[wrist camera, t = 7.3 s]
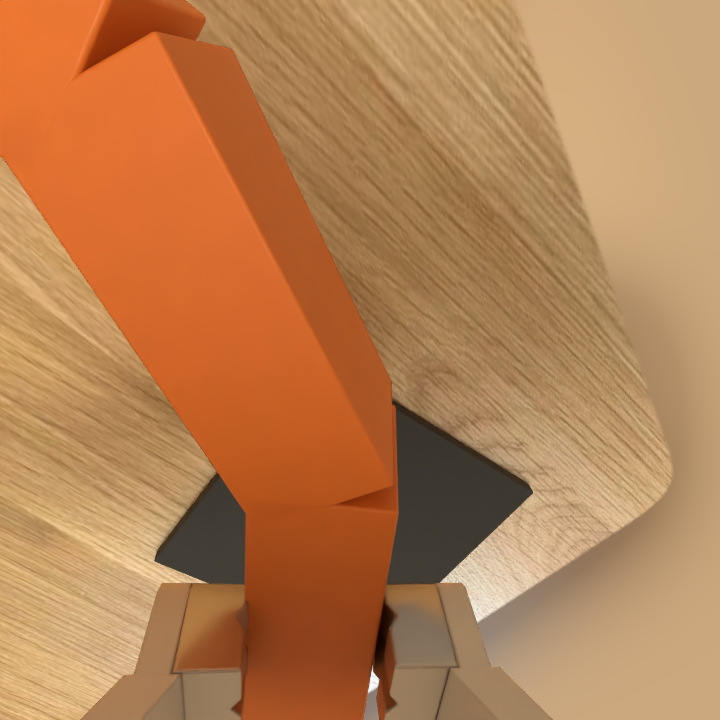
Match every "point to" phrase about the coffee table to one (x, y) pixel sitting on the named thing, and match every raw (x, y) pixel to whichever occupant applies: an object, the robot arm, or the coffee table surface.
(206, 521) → the mat
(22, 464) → the coffee table surface
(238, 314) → the hoop
